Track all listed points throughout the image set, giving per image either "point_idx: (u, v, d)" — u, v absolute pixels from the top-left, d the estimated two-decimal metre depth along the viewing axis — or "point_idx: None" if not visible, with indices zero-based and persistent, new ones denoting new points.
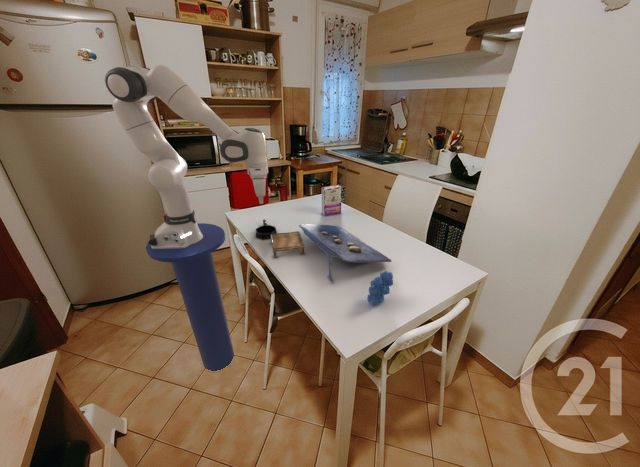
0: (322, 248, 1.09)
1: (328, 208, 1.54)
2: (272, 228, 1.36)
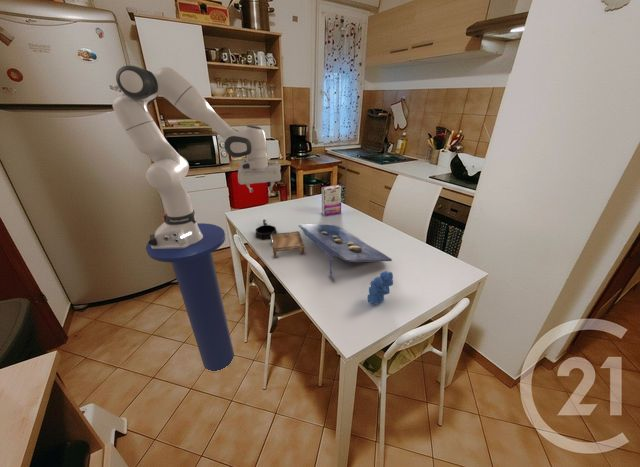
0: (323, 248, 1.09)
1: (328, 208, 1.54)
2: (272, 228, 1.36)
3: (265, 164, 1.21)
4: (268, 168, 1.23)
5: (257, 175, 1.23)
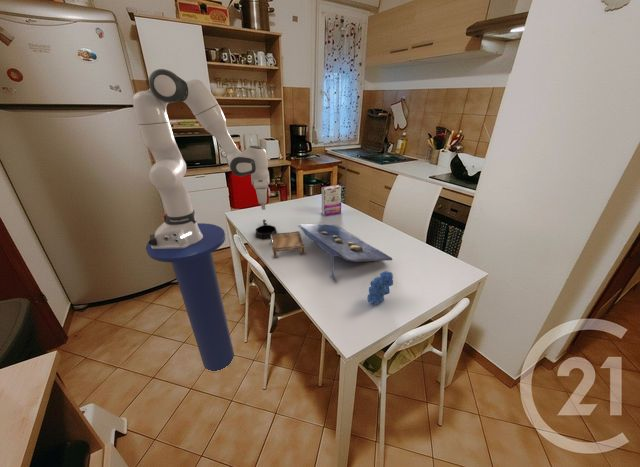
0: (323, 248, 1.09)
1: (328, 208, 1.54)
2: (272, 228, 1.36)
3: None
4: None
5: None
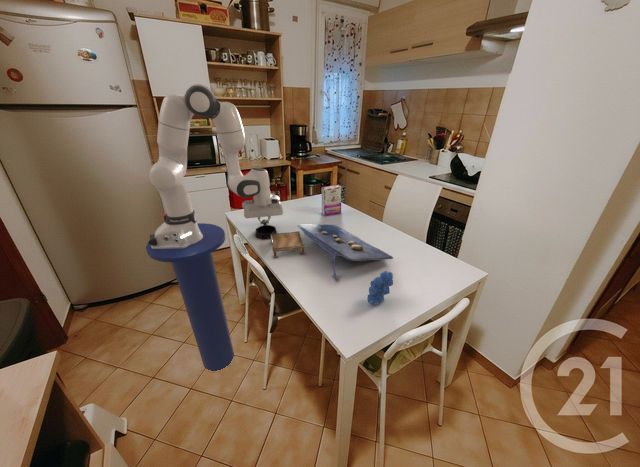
0: (325, 248, 1.09)
1: (328, 208, 1.54)
2: (272, 228, 1.36)
3: None
4: None
5: None
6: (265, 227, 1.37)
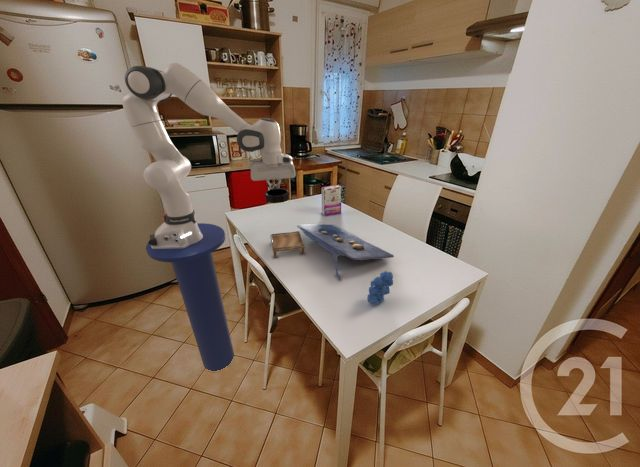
0: (326, 247, 1.09)
1: (328, 208, 1.54)
2: (283, 192, 1.17)
3: None
4: None
5: None
6: (275, 191, 1.18)
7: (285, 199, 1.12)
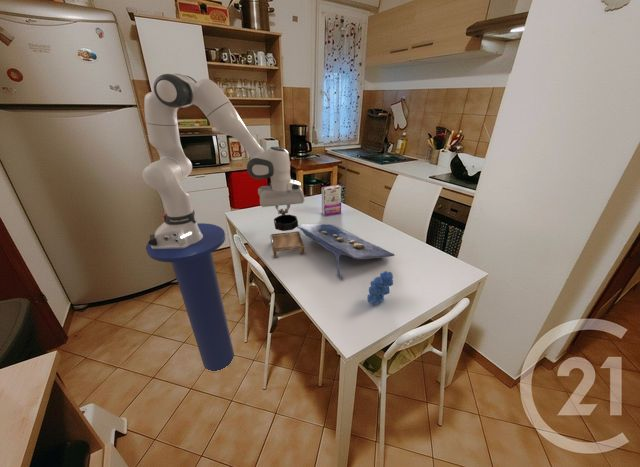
0: (327, 247, 1.09)
1: (328, 208, 1.54)
2: (292, 218, 1.18)
3: None
4: None
5: None
6: (284, 217, 1.19)
7: (294, 226, 1.13)
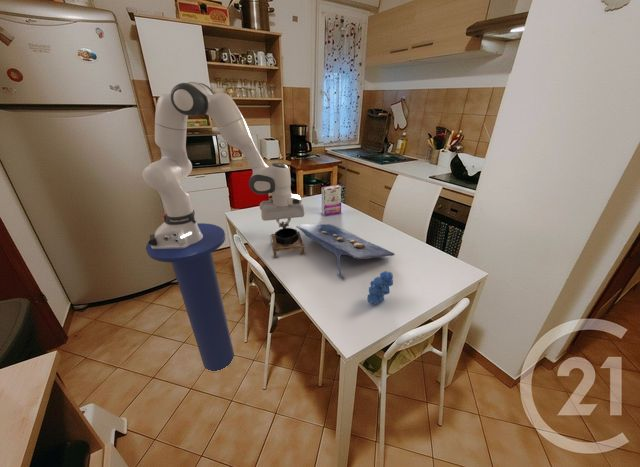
0: (328, 247, 1.09)
1: (328, 208, 1.54)
2: (293, 231, 1.21)
3: None
4: None
5: None
6: (285, 230, 1.22)
7: (295, 240, 1.16)
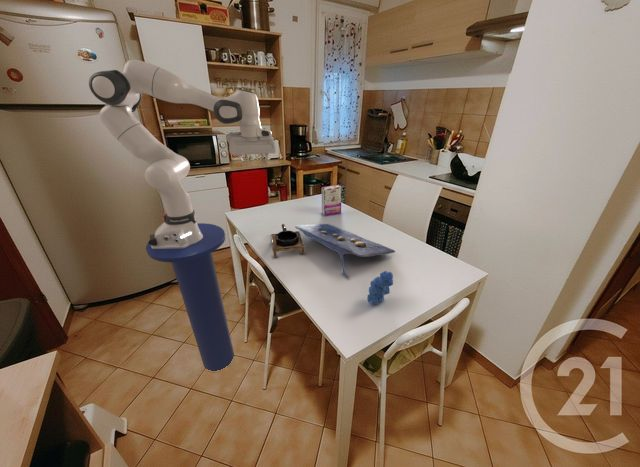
0: (330, 247, 1.10)
1: (328, 208, 1.54)
2: (293, 234, 1.22)
3: None
4: None
5: None
6: (285, 233, 1.22)
7: (295, 243, 1.17)
